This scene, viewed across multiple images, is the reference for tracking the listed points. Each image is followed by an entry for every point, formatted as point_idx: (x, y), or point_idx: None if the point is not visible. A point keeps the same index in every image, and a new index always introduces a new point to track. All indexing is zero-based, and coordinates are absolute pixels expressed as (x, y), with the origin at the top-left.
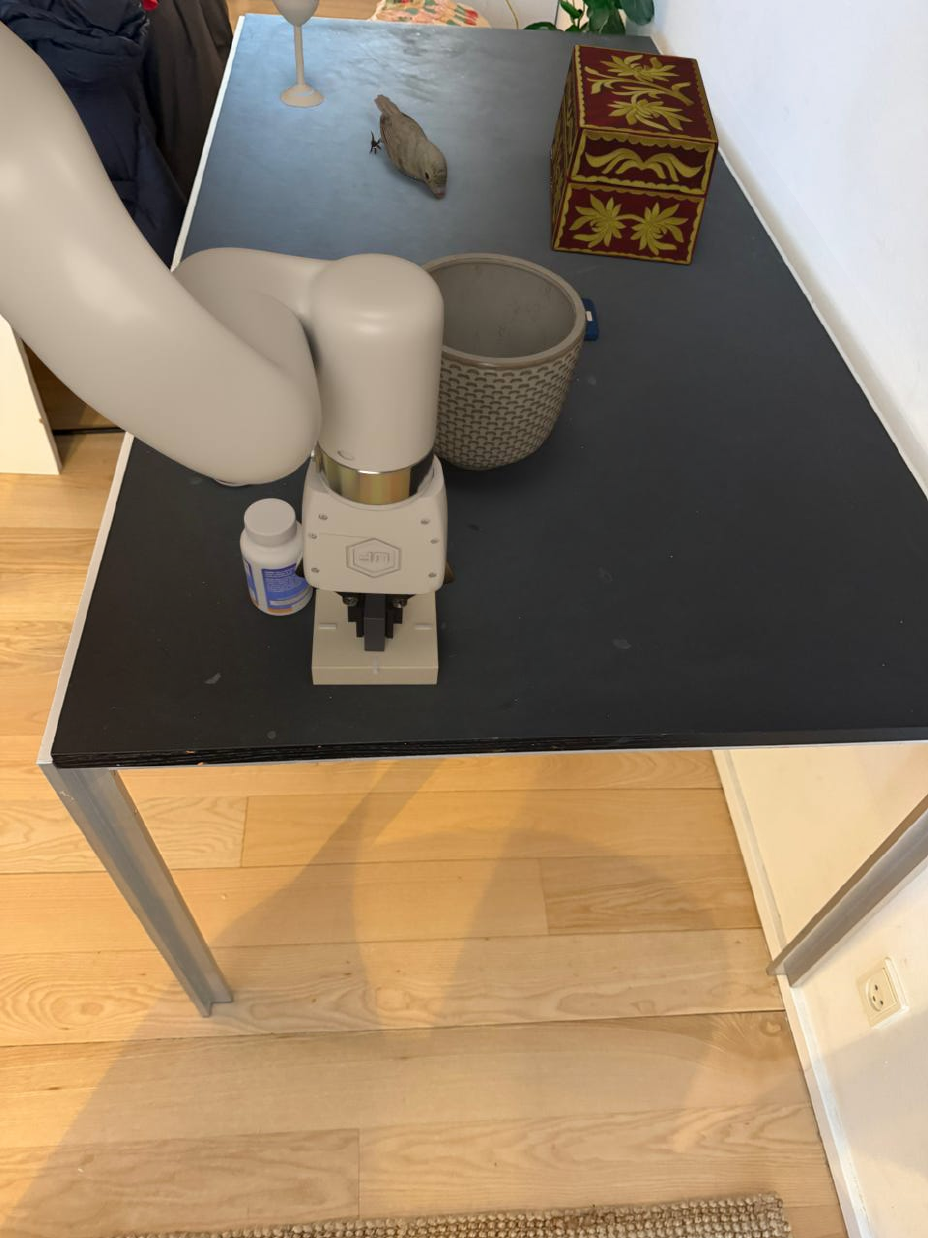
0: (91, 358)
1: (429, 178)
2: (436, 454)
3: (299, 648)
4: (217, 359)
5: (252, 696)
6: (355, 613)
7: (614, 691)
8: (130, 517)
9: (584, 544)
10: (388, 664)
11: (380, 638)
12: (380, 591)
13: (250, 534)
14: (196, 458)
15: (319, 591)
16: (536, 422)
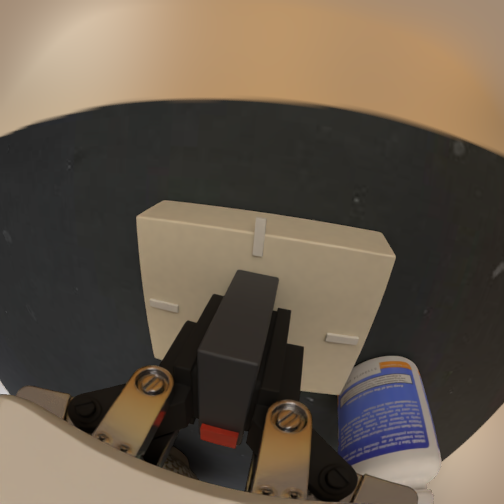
0: None
1: None
2: (172, 466)
3: (385, 303)
4: None
5: (471, 229)
6: (283, 367)
7: (5, 179)
8: (465, 435)
9: (51, 346)
10: (230, 237)
11: (232, 297)
12: (144, 484)
13: (432, 502)
14: None
15: (336, 391)
16: None
